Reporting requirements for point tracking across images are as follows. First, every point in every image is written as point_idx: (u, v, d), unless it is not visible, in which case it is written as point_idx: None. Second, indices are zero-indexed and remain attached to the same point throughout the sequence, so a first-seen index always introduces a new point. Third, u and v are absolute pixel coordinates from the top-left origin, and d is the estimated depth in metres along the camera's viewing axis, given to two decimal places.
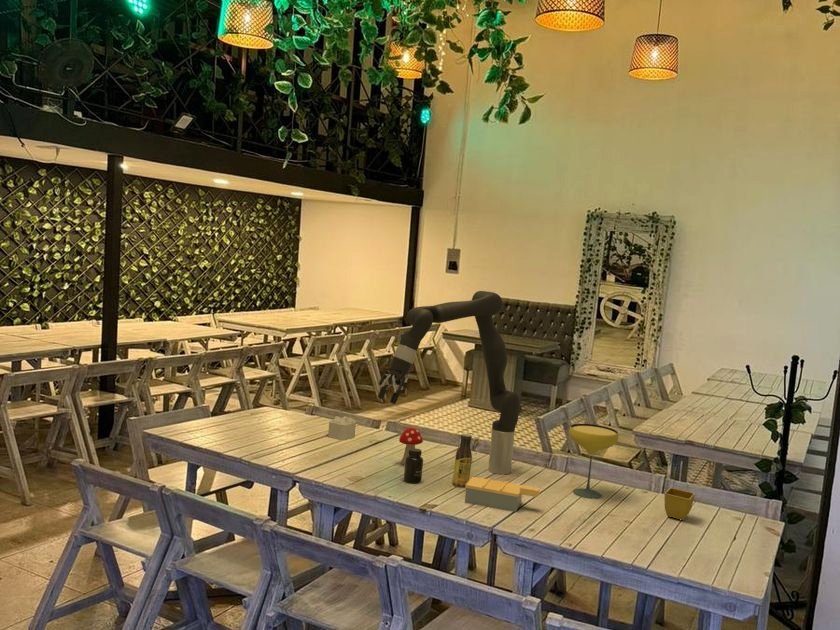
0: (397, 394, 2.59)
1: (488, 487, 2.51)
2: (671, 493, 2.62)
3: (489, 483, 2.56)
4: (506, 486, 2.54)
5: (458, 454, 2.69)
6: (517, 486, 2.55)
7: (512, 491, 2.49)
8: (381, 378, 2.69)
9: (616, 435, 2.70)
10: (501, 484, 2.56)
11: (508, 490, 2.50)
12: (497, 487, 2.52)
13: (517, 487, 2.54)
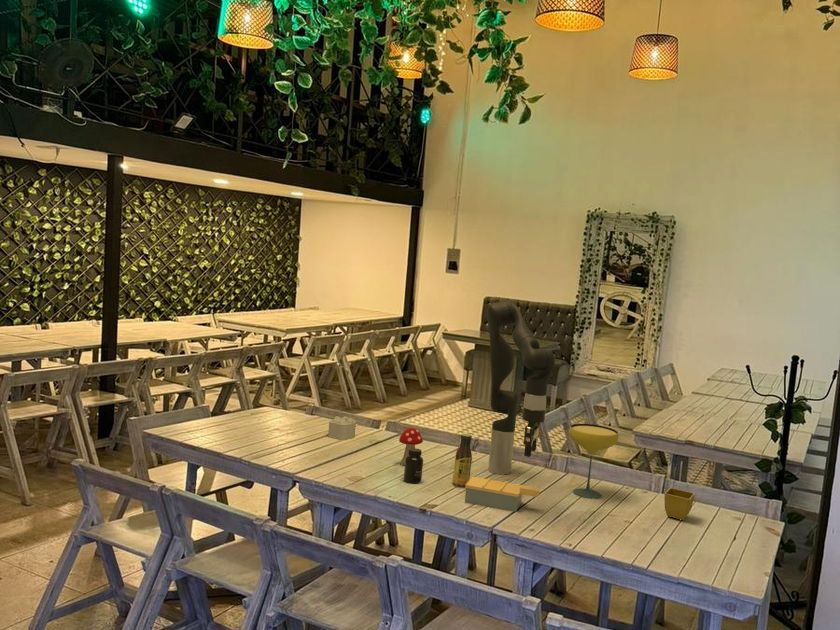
0: None
1: (488, 487, 2.51)
2: (671, 493, 2.62)
3: (489, 483, 2.56)
4: (506, 486, 2.54)
5: (458, 454, 2.69)
6: (517, 486, 2.55)
7: (512, 491, 2.49)
8: (531, 438, 2.42)
9: (616, 435, 2.70)
10: (501, 484, 2.56)
11: (508, 490, 2.50)
12: (497, 487, 2.52)
13: (517, 487, 2.54)
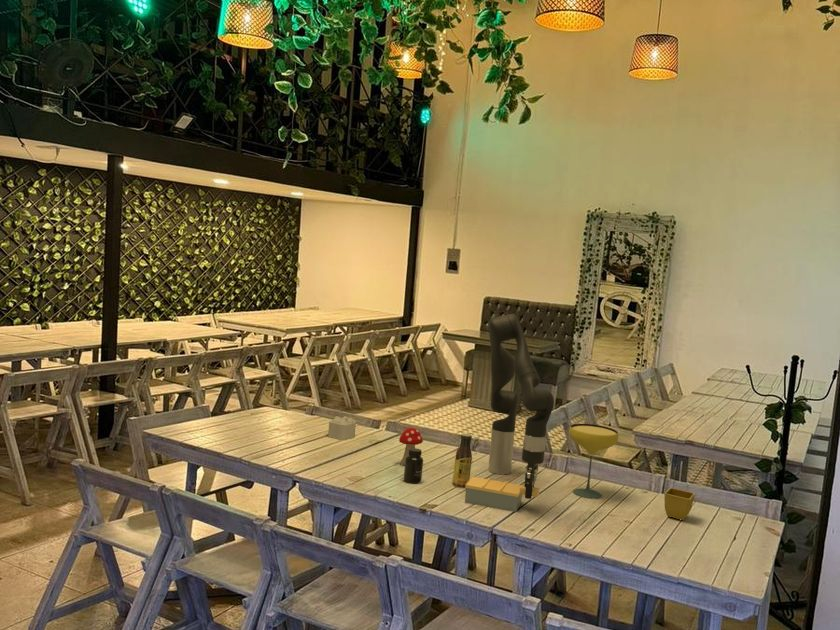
0: None
1: (488, 487, 2.51)
2: (671, 493, 2.62)
3: (489, 483, 2.56)
4: (506, 486, 2.54)
5: (458, 454, 2.69)
6: (517, 486, 2.55)
7: (512, 491, 2.49)
8: (532, 482, 2.45)
9: (616, 435, 2.70)
10: (501, 484, 2.56)
11: (508, 490, 2.50)
12: (497, 487, 2.52)
13: (517, 487, 2.54)
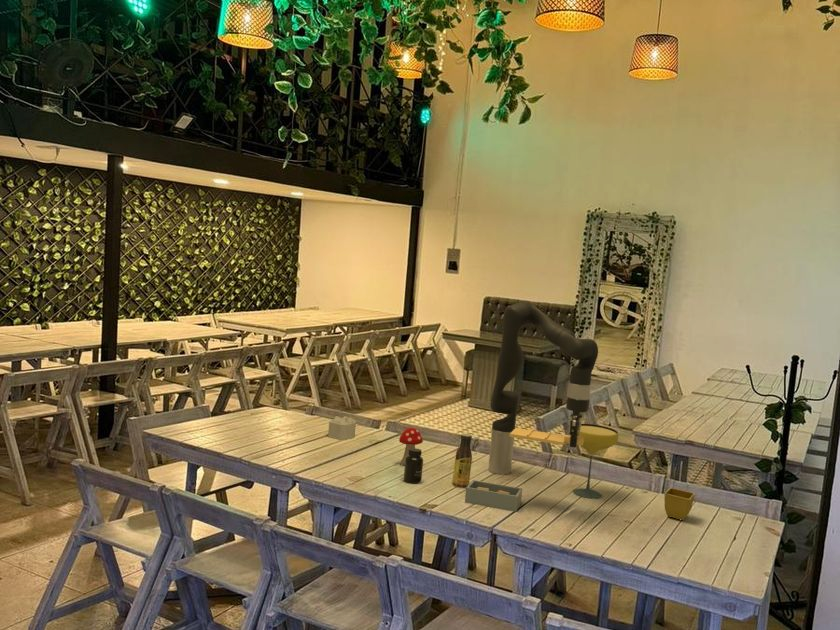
0: None
1: (532, 436, 2.52)
2: (671, 493, 2.62)
3: (532, 433, 2.57)
4: (550, 436, 2.55)
5: (458, 454, 2.69)
6: (561, 436, 2.56)
7: (557, 439, 2.50)
8: (577, 430, 2.46)
9: (616, 435, 2.70)
10: (545, 434, 2.57)
11: (553, 439, 2.51)
12: (541, 436, 2.53)
13: (561, 436, 2.55)
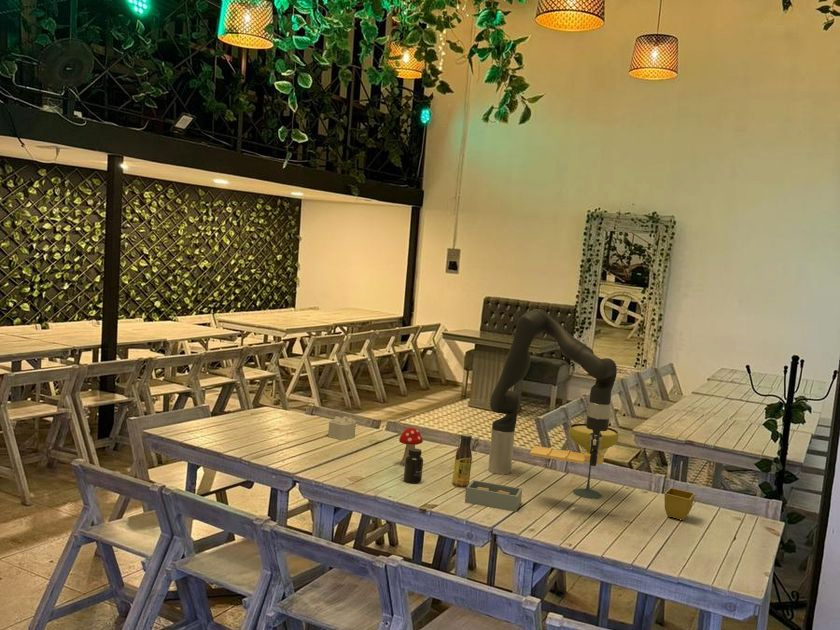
0: None
1: (553, 455, 2.54)
2: (671, 493, 2.62)
3: (552, 451, 2.59)
4: (570, 454, 2.57)
5: (458, 454, 2.69)
6: (580, 454, 2.58)
7: (577, 458, 2.52)
8: (597, 449, 2.48)
9: (616, 435, 2.70)
10: (564, 452, 2.59)
11: (573, 457, 2.53)
12: (561, 455, 2.55)
13: (580, 455, 2.57)
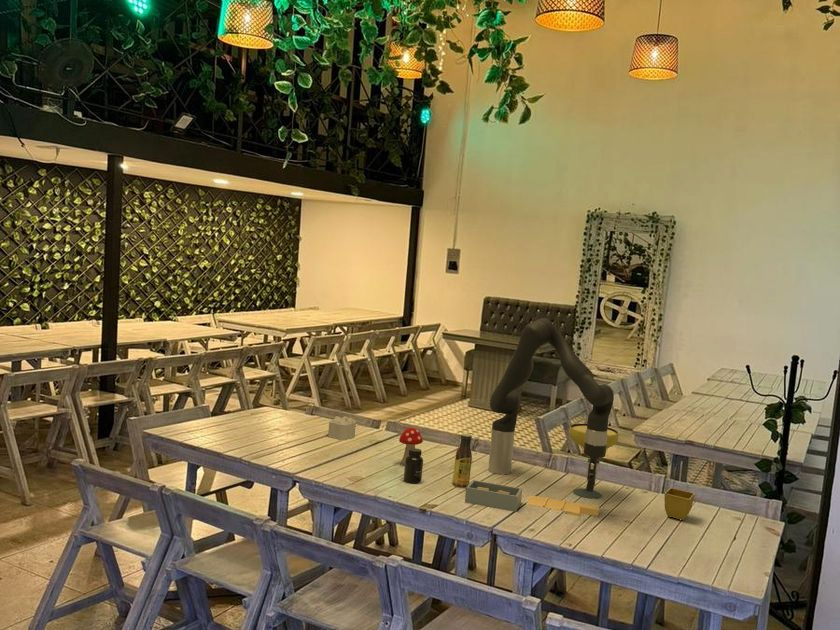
0: None
1: (548, 506, 2.56)
2: (671, 493, 2.62)
3: (548, 502, 2.60)
4: (565, 505, 2.58)
5: (458, 454, 2.69)
6: (576, 505, 2.60)
7: (573, 510, 2.53)
8: (595, 474, 2.48)
9: (616, 435, 2.70)
10: (560, 503, 2.60)
11: (568, 509, 2.54)
12: (557, 506, 2.56)
13: (576, 505, 2.59)
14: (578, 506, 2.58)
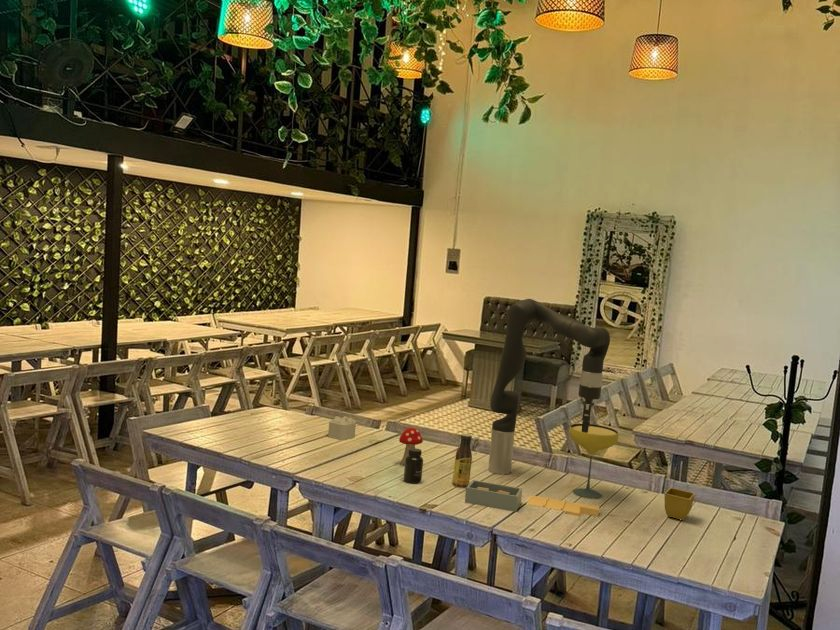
0: None
1: (548, 506, 2.56)
2: (671, 493, 2.62)
3: (548, 502, 2.60)
4: (566, 505, 2.58)
5: (458, 454, 2.69)
6: (576, 505, 2.60)
7: (573, 510, 2.53)
8: (590, 414, 2.48)
9: (616, 435, 2.70)
10: (560, 503, 2.60)
11: (568, 509, 2.54)
12: (557, 506, 2.56)
13: (576, 505, 2.59)
14: (578, 506, 2.58)
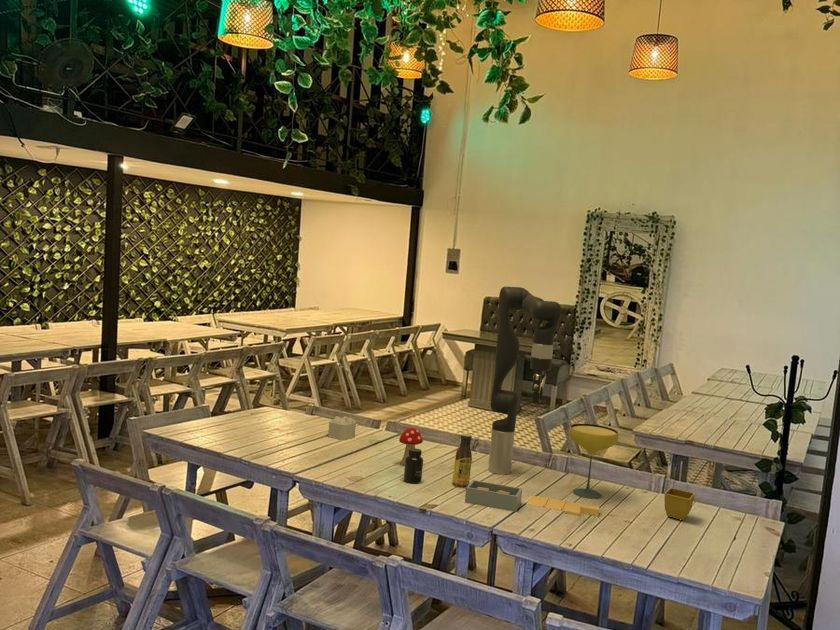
0: None
1: (549, 506, 2.56)
2: (671, 493, 2.62)
3: (548, 502, 2.60)
4: (566, 505, 2.58)
5: (458, 454, 2.69)
6: (576, 505, 2.60)
7: (573, 510, 2.53)
8: (539, 385, 2.55)
9: (616, 435, 2.70)
10: (560, 503, 2.60)
11: (569, 509, 2.54)
12: (557, 506, 2.56)
13: (576, 506, 2.59)
14: (578, 506, 2.58)
